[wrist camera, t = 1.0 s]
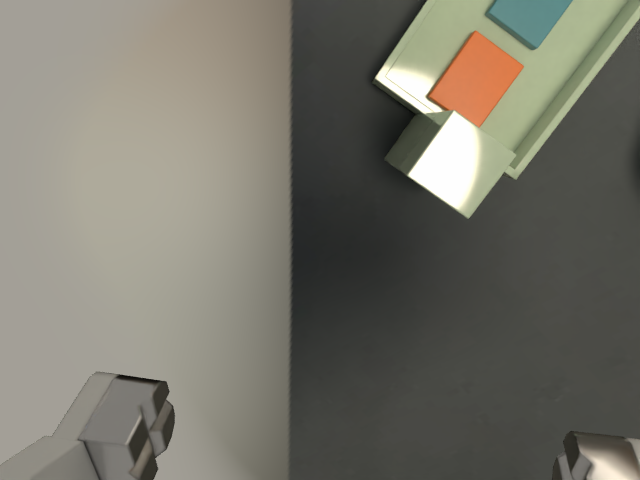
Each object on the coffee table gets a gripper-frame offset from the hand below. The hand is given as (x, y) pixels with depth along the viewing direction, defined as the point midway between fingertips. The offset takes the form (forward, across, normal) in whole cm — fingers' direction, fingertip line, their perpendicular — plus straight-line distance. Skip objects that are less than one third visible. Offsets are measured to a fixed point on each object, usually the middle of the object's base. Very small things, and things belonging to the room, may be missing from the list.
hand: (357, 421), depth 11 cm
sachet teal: (+24, -7, -3) cm, 26 cm away
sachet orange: (+22, -4, 0) cm, 23 cm away
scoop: (+23, -5, 0) cm, 24 cm away
